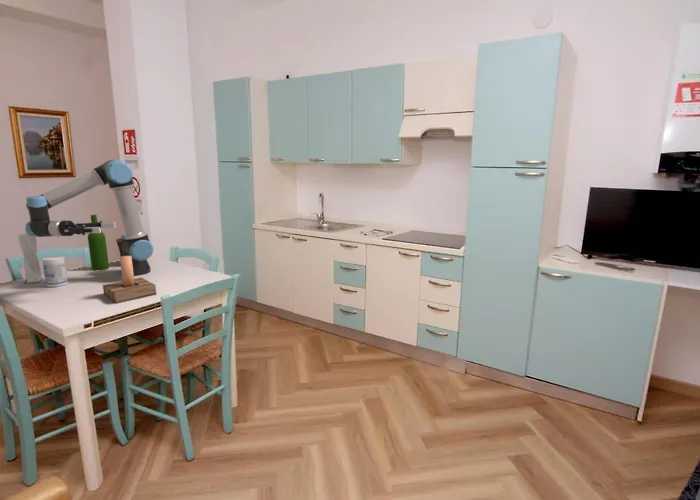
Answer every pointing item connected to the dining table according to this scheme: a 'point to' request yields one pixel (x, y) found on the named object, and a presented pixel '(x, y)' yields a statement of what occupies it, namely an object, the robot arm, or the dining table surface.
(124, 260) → the peg
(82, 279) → the dining table surface
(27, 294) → the dining table surface
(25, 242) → the skyscraper
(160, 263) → the dining table surface
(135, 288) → the socket block
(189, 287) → the dining table surface
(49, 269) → the supplement tub
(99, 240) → the wine bottle
